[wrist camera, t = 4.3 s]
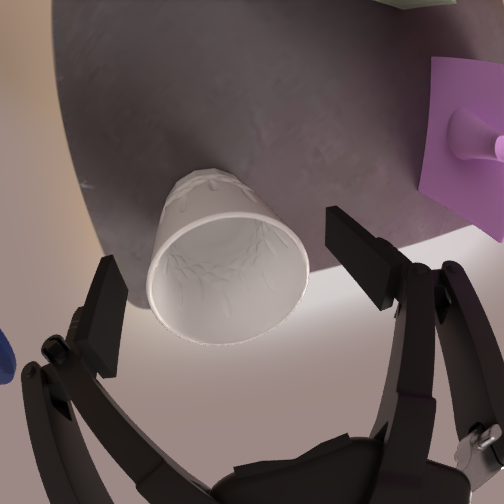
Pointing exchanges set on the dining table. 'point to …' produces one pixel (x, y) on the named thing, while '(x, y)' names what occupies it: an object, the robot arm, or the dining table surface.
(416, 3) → the crate
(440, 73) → the teapot
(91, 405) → the robot arm
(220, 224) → the white cup
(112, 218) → the dining table surface
